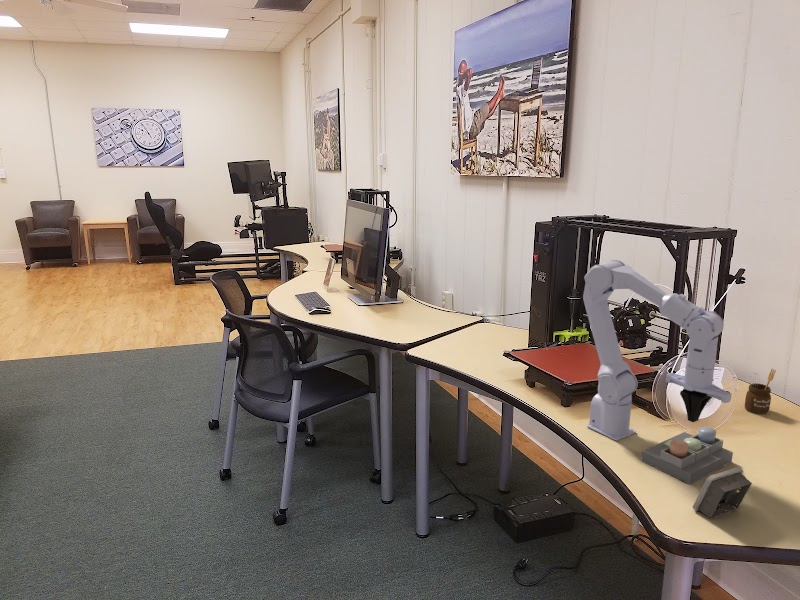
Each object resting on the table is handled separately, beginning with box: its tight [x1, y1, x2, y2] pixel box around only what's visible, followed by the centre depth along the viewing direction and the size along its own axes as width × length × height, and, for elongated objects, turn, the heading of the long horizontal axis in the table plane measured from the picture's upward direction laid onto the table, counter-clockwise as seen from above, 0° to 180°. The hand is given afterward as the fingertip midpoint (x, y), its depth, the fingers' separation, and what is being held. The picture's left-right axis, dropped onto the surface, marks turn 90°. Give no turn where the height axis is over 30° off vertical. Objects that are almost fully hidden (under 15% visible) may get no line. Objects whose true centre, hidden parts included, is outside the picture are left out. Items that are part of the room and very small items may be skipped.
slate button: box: [697, 426, 717, 443], centre depth 138 cm, size 4×4×2 cm
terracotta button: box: [669, 440, 688, 457], centre depth 132 cm, size 4×4×2 cm
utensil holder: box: [744, 368, 777, 415], centre depth 161 cm, size 6×6×12 cm
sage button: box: [684, 438, 702, 452], centre depth 135 cm, size 4×4×2 cm
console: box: [640, 431, 734, 485], centre depth 136 cm, size 12×17×4 cm
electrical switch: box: [692, 466, 753, 520], centre depth 117 cm, size 9×5×9 cm, turn 113°
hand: (692, 420), depth 136 cm, fingers closed
